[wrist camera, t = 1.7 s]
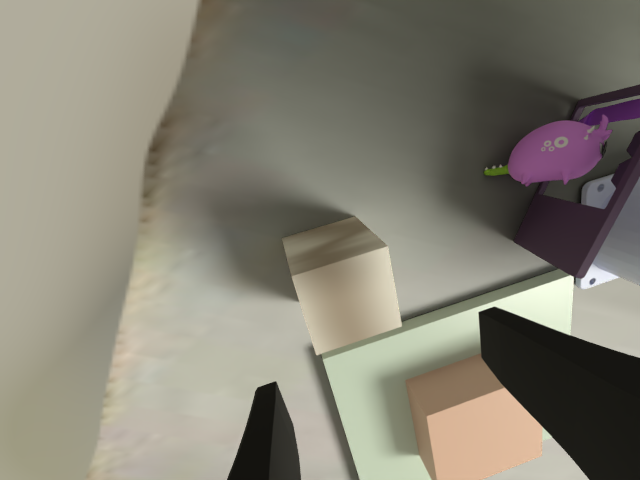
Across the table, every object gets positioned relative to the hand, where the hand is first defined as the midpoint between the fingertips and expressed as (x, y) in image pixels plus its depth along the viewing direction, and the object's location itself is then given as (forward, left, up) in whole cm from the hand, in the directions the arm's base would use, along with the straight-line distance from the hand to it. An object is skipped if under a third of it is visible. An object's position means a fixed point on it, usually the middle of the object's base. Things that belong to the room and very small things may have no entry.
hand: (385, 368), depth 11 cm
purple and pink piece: (-13, -2, -10) cm, 16 cm away
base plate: (-7, +14, -9) cm, 18 cm away
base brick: (-7, +14, -8) cm, 18 cm away
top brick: (0, 0, -9) cm, 9 cm away
